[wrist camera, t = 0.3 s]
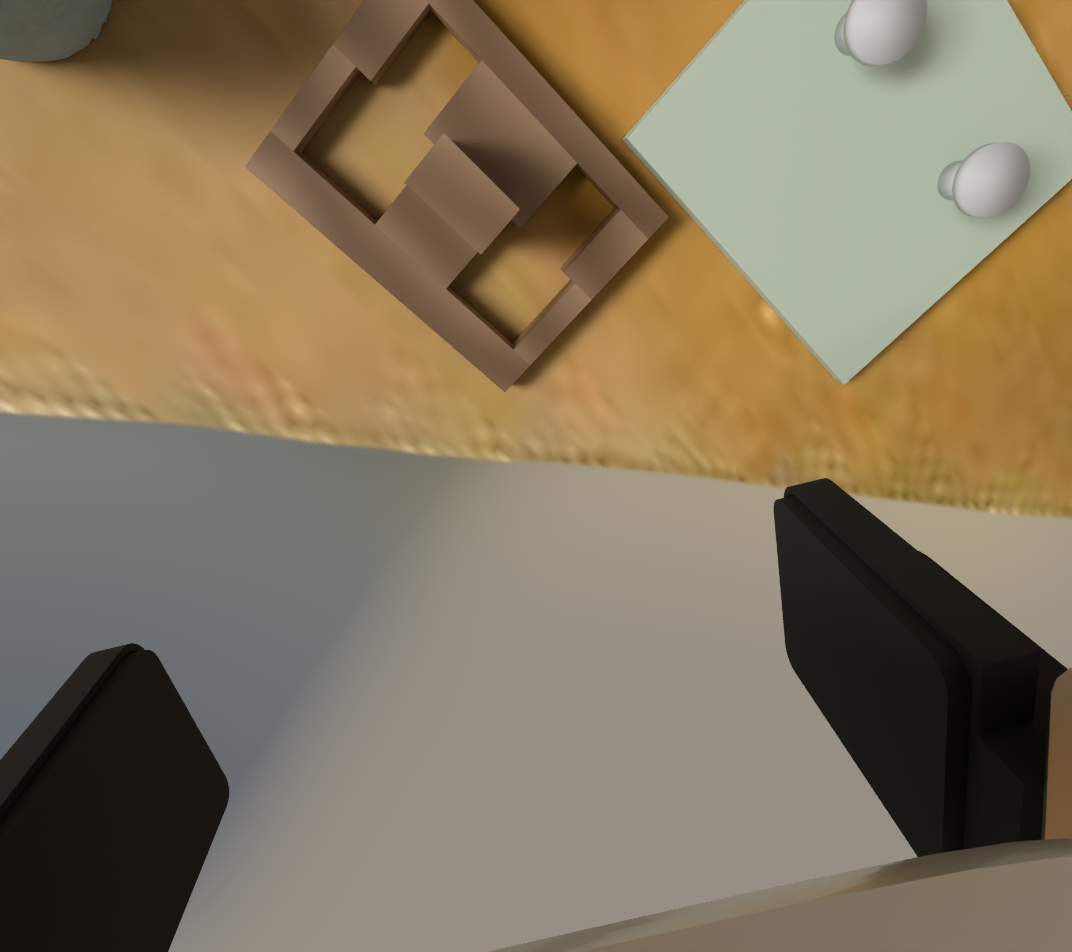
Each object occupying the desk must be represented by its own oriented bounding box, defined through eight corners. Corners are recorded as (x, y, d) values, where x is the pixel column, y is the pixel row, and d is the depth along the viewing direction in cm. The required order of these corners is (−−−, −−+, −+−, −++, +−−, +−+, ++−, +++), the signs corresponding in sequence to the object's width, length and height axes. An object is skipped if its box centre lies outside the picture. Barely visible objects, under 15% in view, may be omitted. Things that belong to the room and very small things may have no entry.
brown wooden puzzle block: (415, -56, 29) (399, -121, 23) (661, 215, 34) (703, 224, 28) (254, 167, 32) (199, 165, 25) (503, 384, 37) (509, 427, 31)
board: (887, -163, 29) (949, -214, 25) (1078, 156, 35) (1150, 153, 31) (621, 139, 33) (640, 134, 29) (833, 378, 39) (872, 400, 35)
